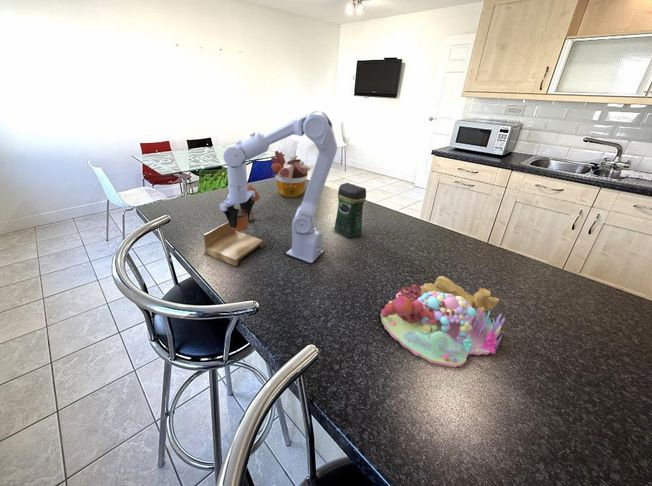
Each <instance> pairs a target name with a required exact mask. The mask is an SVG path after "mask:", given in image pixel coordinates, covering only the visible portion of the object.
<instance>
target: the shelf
mask: <svg viewBox="0 0 652 486" xmlns="http://www.w3.org/2000/svg"><path fill="white" fill-rule="evenodd" d="M203 240H204V250H205V254H206V255H208V256H211V257H213V258H216V259H218V260H219V261H220V260H221V261H223V262H224V263H227V264H230V265H231V266H234V267H237V266H238V265H239V261H240V260H241V259H243V258H244V257H246V256H247V255H248V254H250V253H251V252H253V251H254V250H255V249H257V248H264V240H263V239H261V238H258V237H256V236H253V235H250V234H246V233H243V232H242V231H235V230H232V228H231V227H230V224H229V221H228V220H227V222H225V223H223V224H221V225H219V226H217V227H215V228H213V229H212V230H209V231H208V232H206V233H204V234H203Z"/></svg>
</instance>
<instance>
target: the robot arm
mask: <svg viewBox="0 0 652 486" xmlns="http://www.w3.org/2000/svg"><path fill="white" fill-rule="evenodd" d="M293 135H294V136H298V137H303V136H304V135H305V136H306V138H308V139H309V140H310V141H312V143H314V145H315V147H316V148H317V150H318V155H317V158H316V161H315V163H314V167H313V170H312V173H311V176H310V178H309V182H308V184H307V188H306V190H305V192H304V196H303V198H302V202H301V204H300V205H299V206H297V208H296V211H295V214H294V218H293V219H292V221H291V248H290V249H289V250H288V251H286V252H285V254H286V255H288V256H290V257H294V258H295V259H299V260H301V261H304V262H307V263H310V264H312V263H314V261H316V259H318V258H319V256H321V254H323V240H324V239H323V238H324V236H323V233H321V232H320V231H319V230H317V229H316V226H315V224H314V221H315V218H316V208H317V206H318V204H319V200H320V198H321V195H322V192H323V190H324V187H325V184H326V182H327V179H328V176H329V173H330V171H331V168H332V165H333V162H334V160H335V157H336V155H337V151H338V143H337V140H336V135H335V131H334V127H333V123H332V121H331V120H330V118H329V117H328V115H327V114H326V113H325V112H324V111H321V110H315V111H313V112H311V113H310V114H303V115H301V116H299V117H296V118H293V119H291V120H290V121H287V122H286V123H284V124H282V125H280V126H279V127H277V128H275V129H273V130H271V131H269V132H267V133H266V134H265V133H261V132H257V133H256V132H252V133H250V134H249V137H247V138H245V139H243V140H240V139H239V140H238V141H236V143H235V144H232V145H230V146H229V147H228V148H227V149H225V150H224V152H223V161H224V162H225V164H226V170H227V171H226V173H227V188H228V194H227V195H226V199H225V200H224V201H223V202H221V203H219V210H220V211H222V212H223V214H224V215H225V217H226V220H227V222H228V221H229V224H230V227H233V228H236V226H237V215H238V212H239V210H238V209H239V208H236V207H235V206H236V205H239V207H240V209H245V210H247V211H248V214H247V217H248V220H249V216H250V212H251V209H253V207H254V205H255V203H256V201H255V200H253V199H251V197H252V198H254V197H255V191H251V190H250V191H247V186H248V177H247V175H248V174H247V161H250V160H251V159H254V158H256V157H258V156H260V155H263V154H264V153H266V152H268V151H269V148H270V145H273V144H275V143H277V142H279V141H281V140H284V139H286V138H288V137H291V136H293Z"/></svg>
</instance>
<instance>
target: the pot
mask: <svg viewBox="0 0 652 486" xmlns="http://www.w3.org/2000/svg"><path fill="white" fill-rule="evenodd" d="M237 209H238V210H239V212H238V215H237V226H236V228H233V227H231V228H232V230H235V231H238V232H243V231H246V230H247V229H248V228H249V221H248V217H247V214H248V211H247V210H245V209H241V208H237Z"/></svg>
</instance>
